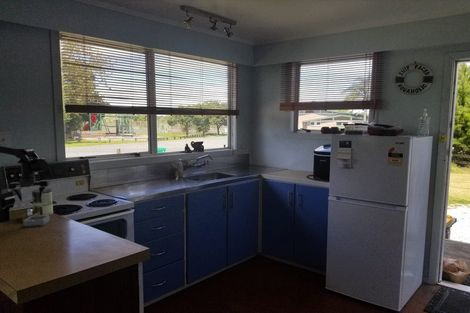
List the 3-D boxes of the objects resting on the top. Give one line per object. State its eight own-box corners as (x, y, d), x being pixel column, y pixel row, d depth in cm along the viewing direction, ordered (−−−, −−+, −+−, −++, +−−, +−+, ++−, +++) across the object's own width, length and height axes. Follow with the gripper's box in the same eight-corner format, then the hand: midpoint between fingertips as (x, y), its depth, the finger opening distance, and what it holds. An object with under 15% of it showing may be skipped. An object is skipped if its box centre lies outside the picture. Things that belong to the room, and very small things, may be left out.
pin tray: (30, 221, 186) (30, 216, 186) (49, 220, 188) (49, 215, 187) (23, 226, 177) (23, 221, 176) (43, 225, 178) (43, 219, 178)
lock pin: (28, 219, 190) (27, 209, 189) (33, 219, 190) (32, 208, 190) (26, 221, 187) (26, 210, 187) (32, 220, 188) (31, 210, 187)
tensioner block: (28, 217, 194) (28, 210, 194) (40, 216, 196) (39, 209, 195) (22, 222, 186) (21, 214, 185) (34, 221, 187) (34, 213, 186)
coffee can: (32, 217, 196) (30, 192, 194) (34, 213, 205) (32, 189, 204) (53, 214, 200) (51, 190, 199) (53, 210, 209) (52, 188, 208)
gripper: (2, 174, 174) (5, 205, 175) (43, 172, 179) (46, 201, 180) (10, 172, 185) (13, 200, 186) (48, 169, 190) (51, 197, 191)
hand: (30, 200), depth 186 cm, fingers open, 9 cm apart
